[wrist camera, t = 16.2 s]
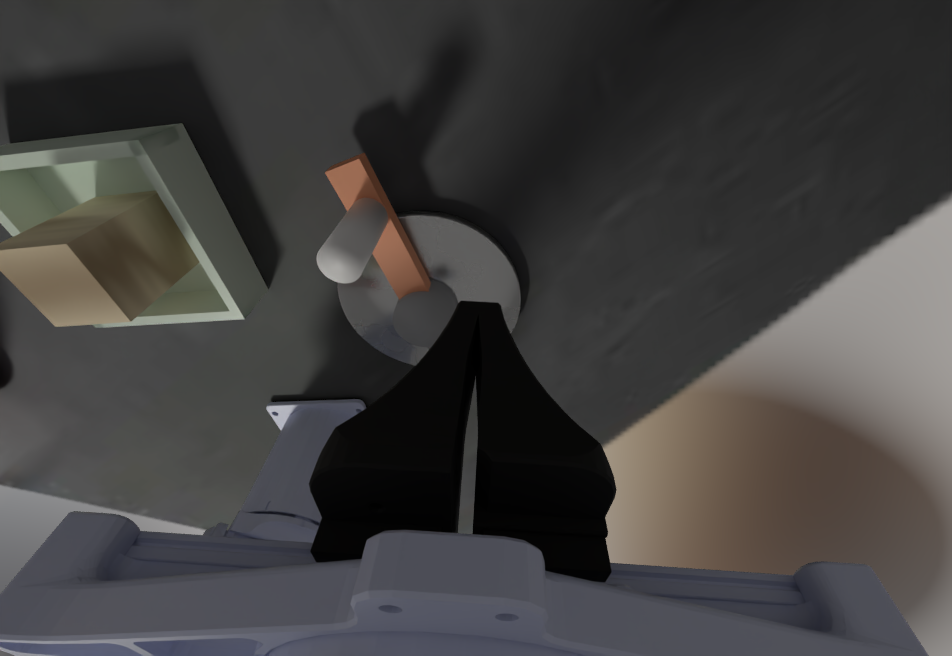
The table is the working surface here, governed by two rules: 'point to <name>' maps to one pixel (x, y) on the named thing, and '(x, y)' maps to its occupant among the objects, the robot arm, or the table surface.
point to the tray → (131, 171)
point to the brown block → (99, 259)
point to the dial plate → (444, 260)
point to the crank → (383, 253)
